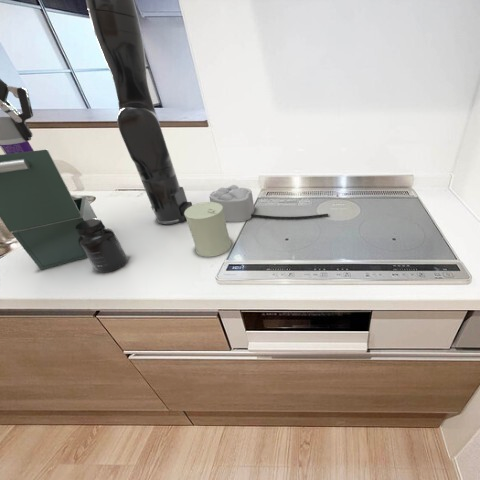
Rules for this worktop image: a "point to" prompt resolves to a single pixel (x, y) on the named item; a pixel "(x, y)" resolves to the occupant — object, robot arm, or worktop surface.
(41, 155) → the bin lid
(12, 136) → the container
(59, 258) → the trash bin
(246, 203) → the lumpy-topped squat cylinder
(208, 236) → the can
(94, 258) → the supplement bottle
